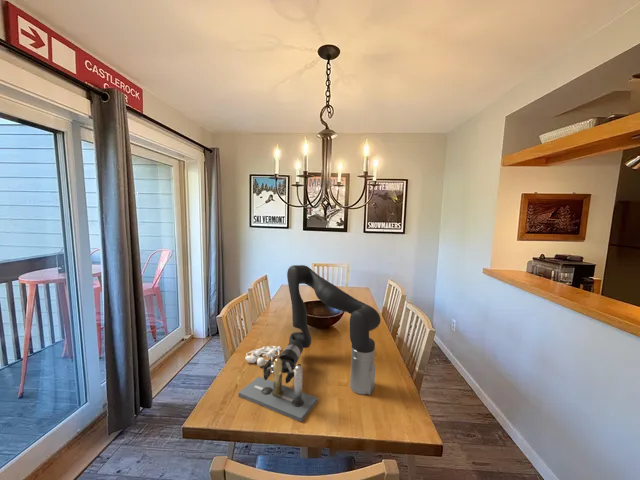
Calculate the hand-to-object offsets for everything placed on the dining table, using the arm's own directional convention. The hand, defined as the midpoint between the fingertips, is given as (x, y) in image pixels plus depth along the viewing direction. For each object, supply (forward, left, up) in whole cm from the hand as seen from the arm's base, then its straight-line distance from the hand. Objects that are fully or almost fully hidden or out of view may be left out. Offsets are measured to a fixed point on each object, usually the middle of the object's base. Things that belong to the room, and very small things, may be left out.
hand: (275, 379), depth 105 cm
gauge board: (+1, -2, -9) cm, 9 cm away
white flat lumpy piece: (+25, -24, -10) cm, 35 cm away
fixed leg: (-8, -2, -7) cm, 11 cm away
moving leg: (+1, -2, -7) cm, 7 cm away
